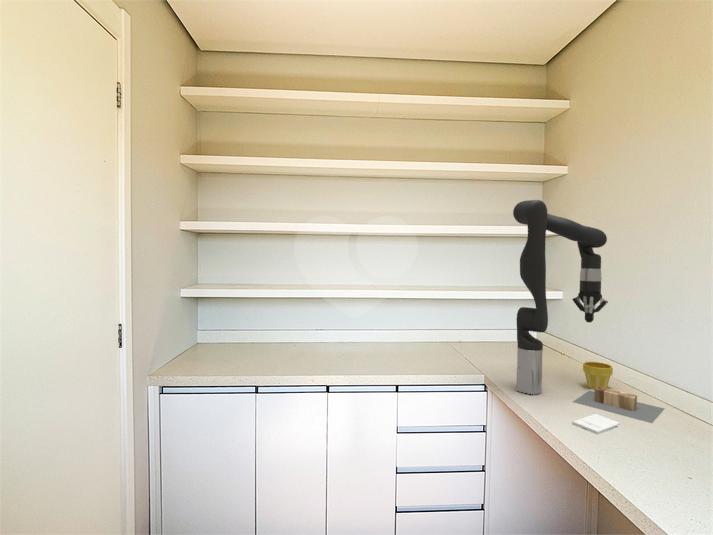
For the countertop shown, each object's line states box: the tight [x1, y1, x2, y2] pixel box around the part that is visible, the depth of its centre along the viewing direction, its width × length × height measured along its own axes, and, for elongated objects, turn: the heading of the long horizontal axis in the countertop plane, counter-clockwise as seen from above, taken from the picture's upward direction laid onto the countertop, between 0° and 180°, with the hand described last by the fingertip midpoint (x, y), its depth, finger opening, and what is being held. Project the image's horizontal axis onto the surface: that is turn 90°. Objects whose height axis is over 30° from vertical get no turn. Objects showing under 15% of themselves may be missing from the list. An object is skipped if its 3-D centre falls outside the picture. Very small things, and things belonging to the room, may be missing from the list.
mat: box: [572, 390, 665, 424], centre depth 143 cm, size 18×24×1 cm
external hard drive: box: [571, 413, 621, 435], centre depth 128 cm, size 2×8×12 cm
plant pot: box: [582, 361, 614, 390], centre depth 162 cm, size 10×10×10 cm
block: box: [594, 387, 638, 411], centre depth 143 cm, size 4×4×12 cm
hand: (589, 322), depth 162 cm, fingers closed
